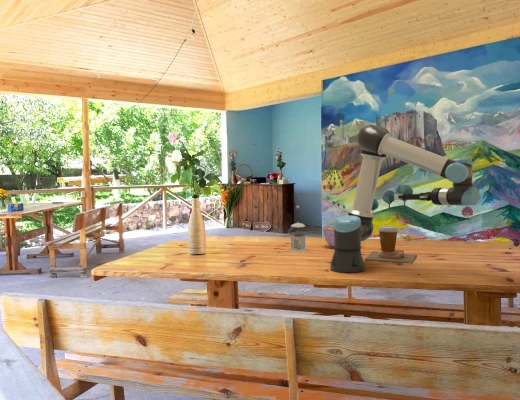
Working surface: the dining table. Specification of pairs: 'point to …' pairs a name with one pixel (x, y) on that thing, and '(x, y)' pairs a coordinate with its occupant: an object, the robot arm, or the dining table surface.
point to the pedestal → (391, 256)
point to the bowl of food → (329, 234)
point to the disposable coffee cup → (388, 238)
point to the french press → (297, 239)
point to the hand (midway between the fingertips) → (405, 196)
